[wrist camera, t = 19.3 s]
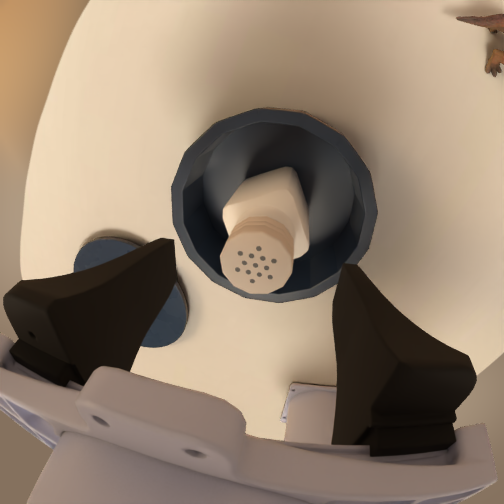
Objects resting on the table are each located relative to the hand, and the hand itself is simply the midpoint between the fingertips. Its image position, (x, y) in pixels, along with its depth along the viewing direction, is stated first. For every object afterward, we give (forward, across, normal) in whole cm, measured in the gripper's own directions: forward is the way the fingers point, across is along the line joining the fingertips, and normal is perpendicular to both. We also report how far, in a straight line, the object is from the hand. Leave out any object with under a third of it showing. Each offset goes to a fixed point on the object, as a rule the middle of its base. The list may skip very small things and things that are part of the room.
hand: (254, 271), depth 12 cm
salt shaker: (+10, 0, 0) cm, 10 cm away
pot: (+10, 0, 0) cm, 10 cm away
